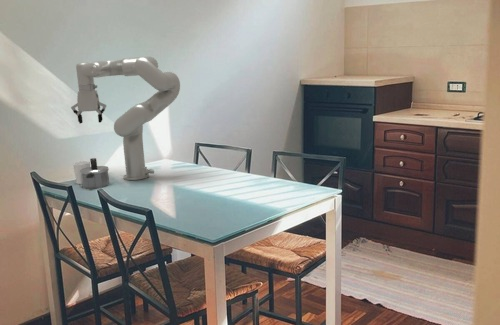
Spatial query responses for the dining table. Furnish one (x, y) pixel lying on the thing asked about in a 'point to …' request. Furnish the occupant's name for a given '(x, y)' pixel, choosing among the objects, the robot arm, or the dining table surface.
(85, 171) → the lid
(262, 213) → the dining table surface
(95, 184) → the pot
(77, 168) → the white cup
